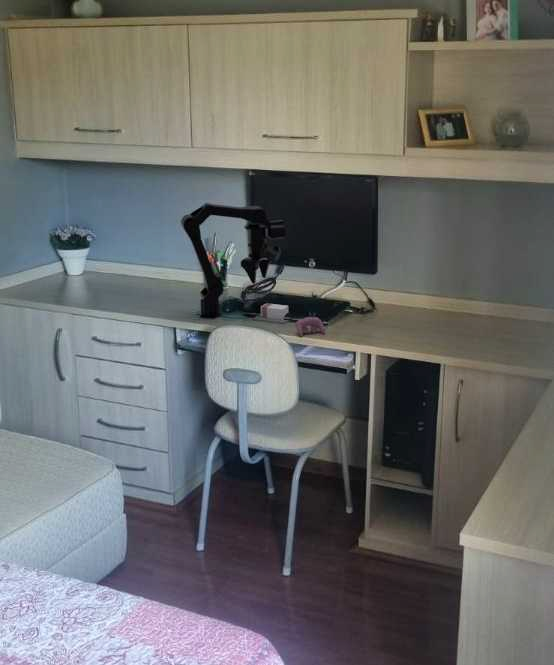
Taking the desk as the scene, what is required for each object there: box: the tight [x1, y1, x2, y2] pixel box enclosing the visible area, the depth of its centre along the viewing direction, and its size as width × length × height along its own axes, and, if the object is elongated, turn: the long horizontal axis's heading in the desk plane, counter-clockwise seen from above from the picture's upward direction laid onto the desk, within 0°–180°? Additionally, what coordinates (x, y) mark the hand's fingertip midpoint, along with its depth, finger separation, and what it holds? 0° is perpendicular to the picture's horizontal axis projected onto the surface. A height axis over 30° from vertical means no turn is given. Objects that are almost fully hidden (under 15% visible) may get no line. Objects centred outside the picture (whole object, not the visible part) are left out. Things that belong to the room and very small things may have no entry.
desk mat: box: [252, 315, 290, 325], centre depth 329 cm, size 13×11×1 cm
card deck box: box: [260, 302, 289, 320], centre depth 328 cm, size 5×9×4 cm, turn 66°
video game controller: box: [295, 316, 326, 338], centre depth 310 cm, size 10×5×7 cm, turn 108°
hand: (258, 280), depth 334 cm, fingers open, 9 cm apart
